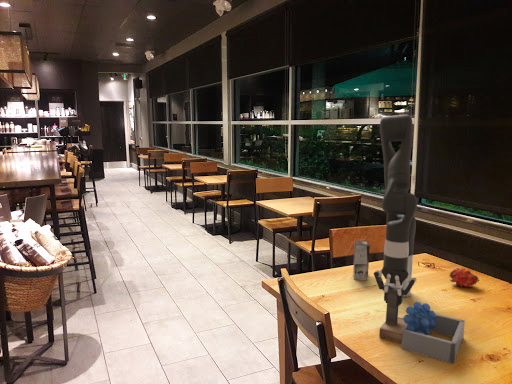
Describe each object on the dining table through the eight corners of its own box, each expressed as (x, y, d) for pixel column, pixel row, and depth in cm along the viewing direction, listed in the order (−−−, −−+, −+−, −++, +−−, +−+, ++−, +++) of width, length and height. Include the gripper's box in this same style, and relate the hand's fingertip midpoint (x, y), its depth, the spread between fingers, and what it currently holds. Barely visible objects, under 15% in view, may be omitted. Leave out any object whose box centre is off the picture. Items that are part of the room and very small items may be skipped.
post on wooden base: (390, 323, 142) (393, 282, 140) (410, 328, 138) (414, 286, 136) (379, 336, 132) (382, 292, 130) (401, 343, 128) (404, 297, 126)
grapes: (410, 344, 128) (412, 308, 126) (398, 334, 134) (400, 300, 133) (442, 341, 130) (445, 305, 129) (429, 331, 137) (432, 297, 135)
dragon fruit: (445, 286, 181) (475, 294, 177) (449, 281, 174) (480, 289, 170) (448, 268, 184) (478, 275, 180) (452, 262, 177) (483, 270, 173)
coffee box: (368, 280, 183) (370, 245, 181) (353, 279, 185) (355, 244, 182) (367, 273, 192) (368, 240, 190) (353, 272, 193) (354, 239, 191)
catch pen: (416, 325, 141) (417, 309, 140) (463, 337, 132) (464, 320, 132) (401, 348, 126) (402, 330, 125) (453, 364, 117) (455, 344, 117)
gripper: (421, 254, 131) (417, 305, 134) (378, 247, 139) (375, 295, 142) (415, 260, 125) (411, 313, 128) (371, 252, 133) (368, 302, 136)
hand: (392, 303), depth 135 cm, fingers closed on post on wooden base, 3 cm apart
